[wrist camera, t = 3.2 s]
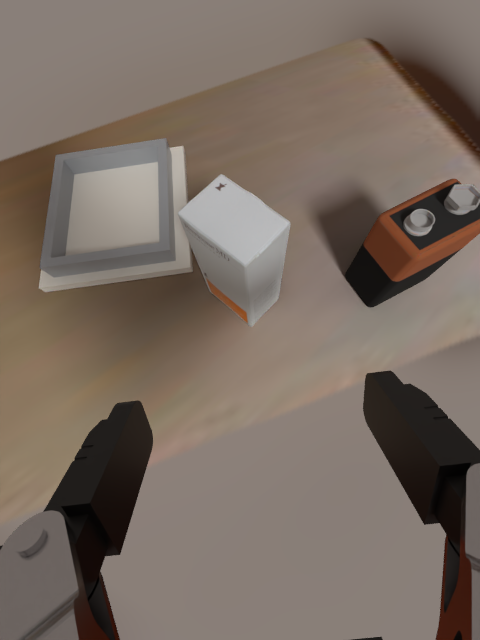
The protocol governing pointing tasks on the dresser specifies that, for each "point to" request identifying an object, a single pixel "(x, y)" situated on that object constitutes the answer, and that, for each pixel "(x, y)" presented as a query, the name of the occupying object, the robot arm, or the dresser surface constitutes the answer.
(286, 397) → the dresser surface
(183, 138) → the dresser surface
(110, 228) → the grey rimmed tray
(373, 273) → the battery
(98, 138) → the dresser surface
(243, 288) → the skincare box
